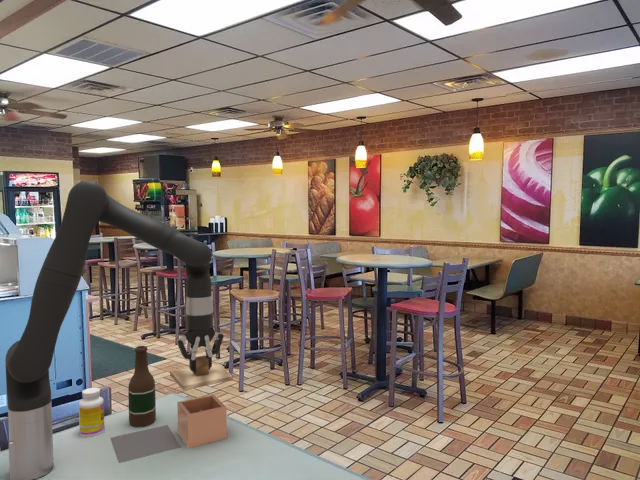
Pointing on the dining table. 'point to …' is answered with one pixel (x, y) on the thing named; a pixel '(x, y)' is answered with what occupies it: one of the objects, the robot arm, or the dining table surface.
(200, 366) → the lid
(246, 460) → the dining table surface
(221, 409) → the terracotta square planter
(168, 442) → the mat
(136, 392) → the beer bottle
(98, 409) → the supplement bottle
